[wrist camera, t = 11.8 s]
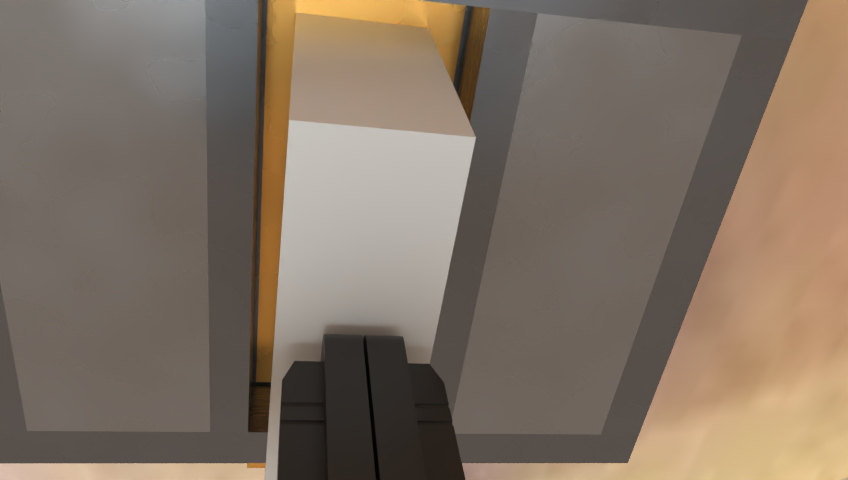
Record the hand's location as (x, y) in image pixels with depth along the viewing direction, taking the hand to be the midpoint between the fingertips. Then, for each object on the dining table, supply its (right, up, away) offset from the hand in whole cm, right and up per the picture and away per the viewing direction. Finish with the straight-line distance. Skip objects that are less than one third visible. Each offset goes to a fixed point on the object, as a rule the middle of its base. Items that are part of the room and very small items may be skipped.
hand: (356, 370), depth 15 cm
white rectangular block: (-1, +3, +5) cm, 6 cm away
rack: (-1, +4, +6) cm, 7 cm away
